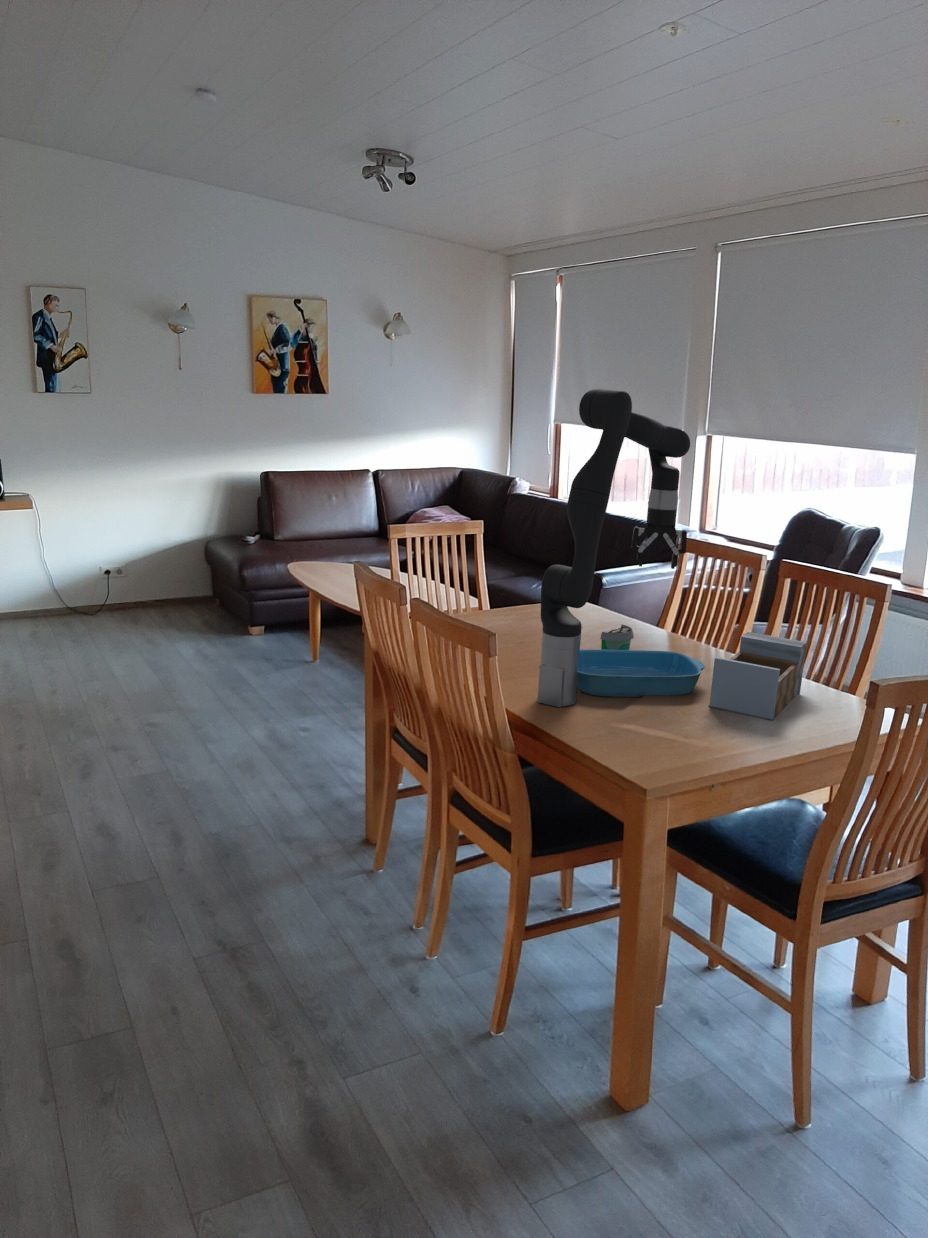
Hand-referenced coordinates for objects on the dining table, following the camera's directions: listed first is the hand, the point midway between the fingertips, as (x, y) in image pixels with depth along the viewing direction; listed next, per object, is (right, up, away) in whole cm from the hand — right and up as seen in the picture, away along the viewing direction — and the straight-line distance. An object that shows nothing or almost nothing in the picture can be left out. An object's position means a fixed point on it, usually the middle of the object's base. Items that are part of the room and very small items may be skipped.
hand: (656, 567), depth 251 cm
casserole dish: (-9, -32, -8) cm, 34 cm away
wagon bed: (+22, -34, -16) cm, 44 cm away
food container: (-9, -27, +10) cm, 30 cm away
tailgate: (+14, -36, -28) cm, 48 cm away
